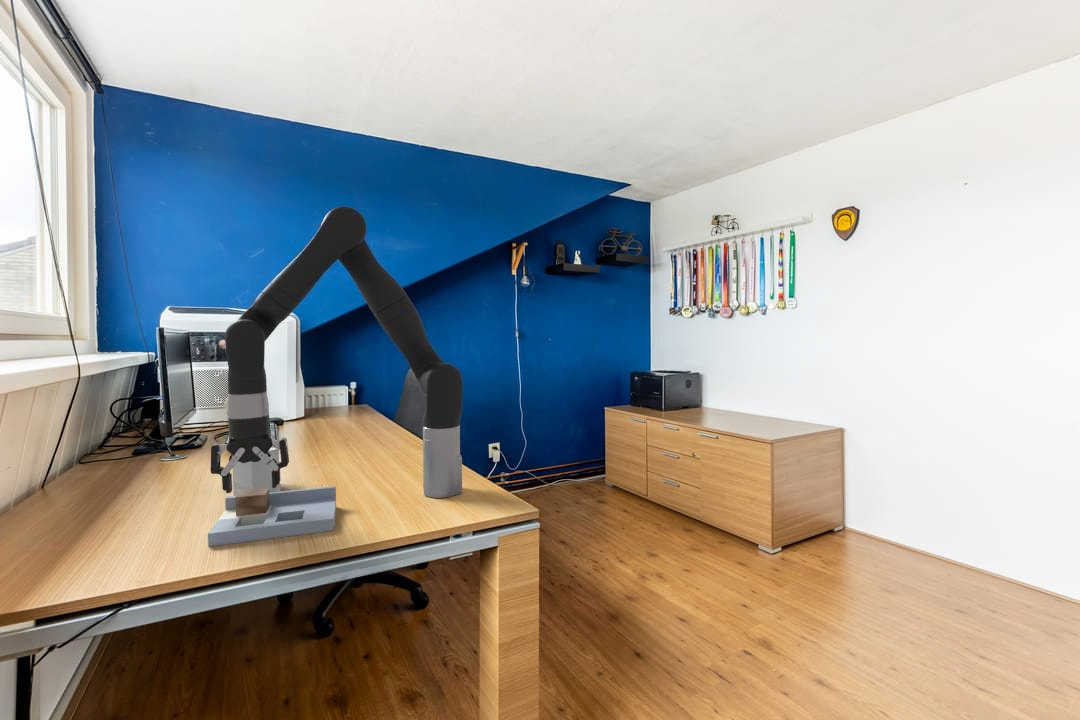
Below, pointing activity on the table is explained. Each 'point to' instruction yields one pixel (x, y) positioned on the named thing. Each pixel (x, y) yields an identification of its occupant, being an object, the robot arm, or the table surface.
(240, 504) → the walnut block
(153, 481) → the table surface
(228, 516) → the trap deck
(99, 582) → the table surface
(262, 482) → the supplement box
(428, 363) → the robot arm
